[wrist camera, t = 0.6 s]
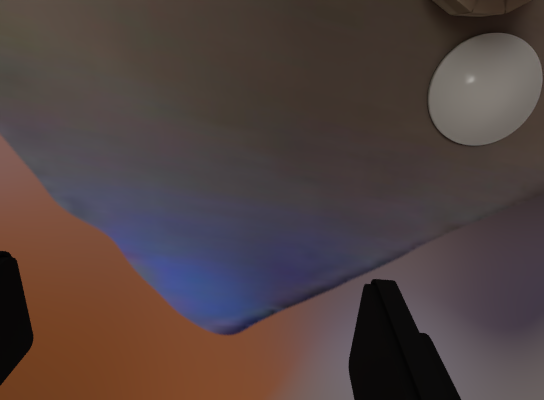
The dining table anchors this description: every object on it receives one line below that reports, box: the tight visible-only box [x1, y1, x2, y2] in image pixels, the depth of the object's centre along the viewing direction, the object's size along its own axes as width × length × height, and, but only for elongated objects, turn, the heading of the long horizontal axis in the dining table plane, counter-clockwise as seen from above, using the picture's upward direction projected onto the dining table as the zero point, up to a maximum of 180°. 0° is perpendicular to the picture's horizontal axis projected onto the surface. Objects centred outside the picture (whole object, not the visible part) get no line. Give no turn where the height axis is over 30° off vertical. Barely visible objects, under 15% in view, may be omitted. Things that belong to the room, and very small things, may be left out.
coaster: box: [427, 33, 543, 146], centre depth 35 cm, size 10×10×1 cm
